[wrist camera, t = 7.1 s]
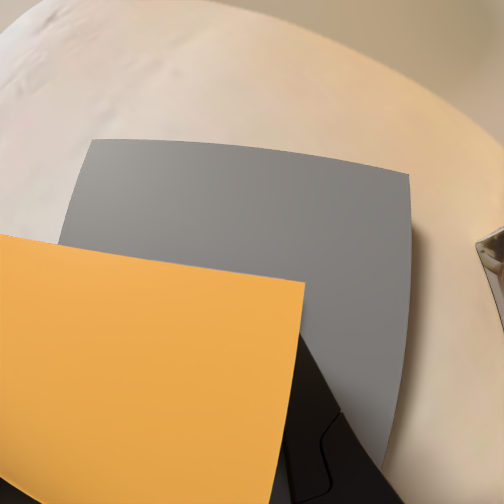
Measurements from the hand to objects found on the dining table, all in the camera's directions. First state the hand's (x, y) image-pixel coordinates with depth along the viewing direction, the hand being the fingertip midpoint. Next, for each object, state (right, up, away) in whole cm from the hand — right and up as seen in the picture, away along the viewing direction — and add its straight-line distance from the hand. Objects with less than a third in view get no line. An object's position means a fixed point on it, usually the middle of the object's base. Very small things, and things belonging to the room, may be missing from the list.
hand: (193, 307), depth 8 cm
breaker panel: (-1, -6, +6) cm, 8 cm away
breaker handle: (0, -2, +3) cm, 4 cm away
